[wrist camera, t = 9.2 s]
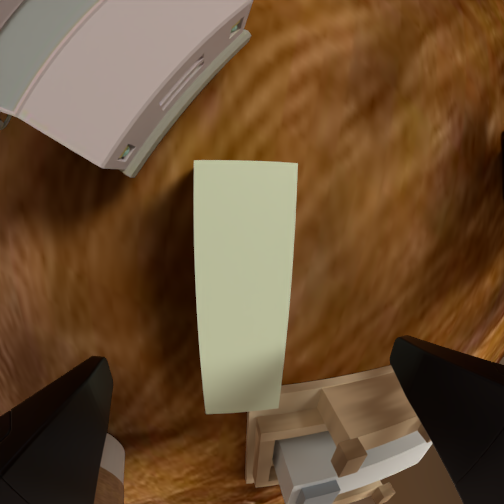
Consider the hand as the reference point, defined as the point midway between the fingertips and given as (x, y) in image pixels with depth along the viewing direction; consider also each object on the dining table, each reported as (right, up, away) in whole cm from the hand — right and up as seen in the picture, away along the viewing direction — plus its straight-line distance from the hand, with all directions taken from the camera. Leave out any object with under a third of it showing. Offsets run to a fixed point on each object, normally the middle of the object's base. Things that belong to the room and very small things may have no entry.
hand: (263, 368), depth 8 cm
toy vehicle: (-11, +15, +2) cm, 19 cm away
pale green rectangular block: (-1, +2, +7) cm, 8 cm away
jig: (+7, -12, +12) cm, 18 cm away
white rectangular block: (+7, -12, +11) cm, 18 cm away
